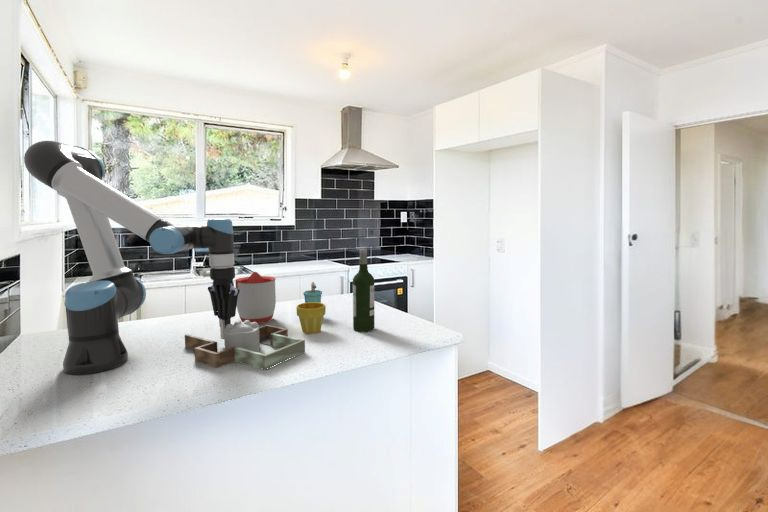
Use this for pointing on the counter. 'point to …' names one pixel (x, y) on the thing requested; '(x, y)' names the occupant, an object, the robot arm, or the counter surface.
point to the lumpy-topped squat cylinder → (242, 335)
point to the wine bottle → (363, 297)
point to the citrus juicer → (256, 298)
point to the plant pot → (311, 316)
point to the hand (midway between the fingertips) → (225, 337)
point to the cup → (312, 294)
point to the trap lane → (268, 336)
